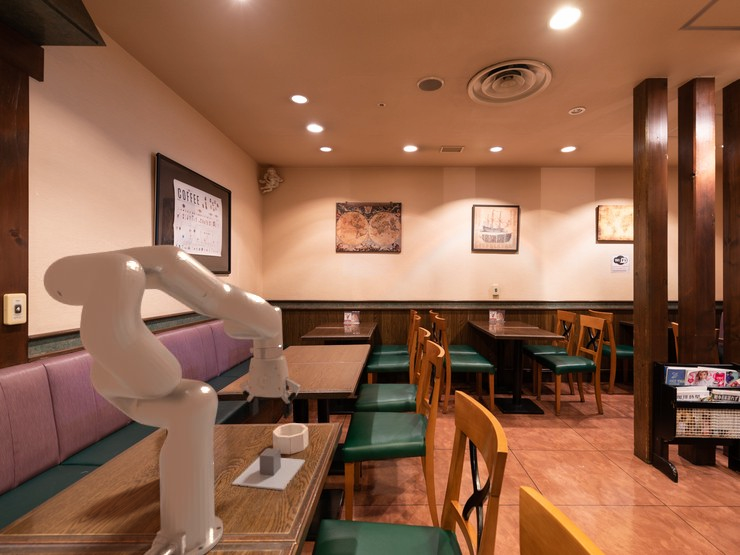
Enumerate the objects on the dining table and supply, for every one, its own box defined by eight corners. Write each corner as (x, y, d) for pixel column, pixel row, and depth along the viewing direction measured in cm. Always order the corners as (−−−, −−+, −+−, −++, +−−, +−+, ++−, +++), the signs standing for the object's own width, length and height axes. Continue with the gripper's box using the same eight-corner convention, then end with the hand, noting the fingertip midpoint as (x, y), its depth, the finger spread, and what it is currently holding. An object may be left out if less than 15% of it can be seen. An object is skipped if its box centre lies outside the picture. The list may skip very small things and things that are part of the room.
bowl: (299, 455, 104) (299, 438, 104) (268, 452, 106) (267, 435, 106) (312, 439, 114) (311, 424, 114) (283, 437, 116) (282, 422, 116)
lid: (283, 492, 86) (282, 468, 87) (231, 487, 89) (231, 463, 89) (305, 463, 100) (304, 442, 100) (260, 459, 103) (259, 438, 103)
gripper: (231, 355, 93) (233, 419, 94) (292, 356, 90) (295, 423, 90) (247, 348, 101) (249, 408, 101) (304, 349, 97) (306, 411, 97)
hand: (270, 415), depth 95 cm, fingers open, 9 cm apart
